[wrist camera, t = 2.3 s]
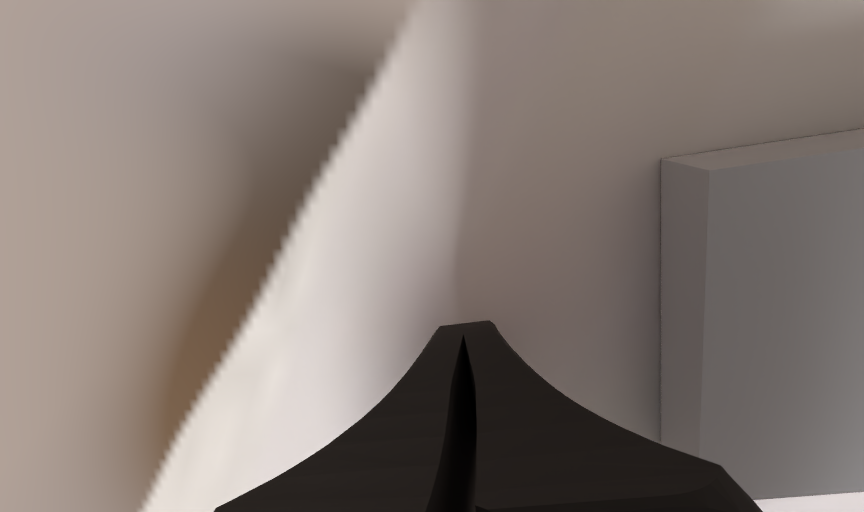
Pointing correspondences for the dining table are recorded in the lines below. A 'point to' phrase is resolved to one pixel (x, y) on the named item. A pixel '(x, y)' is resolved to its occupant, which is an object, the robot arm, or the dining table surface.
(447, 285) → the dining table surface
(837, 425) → the grey shell
